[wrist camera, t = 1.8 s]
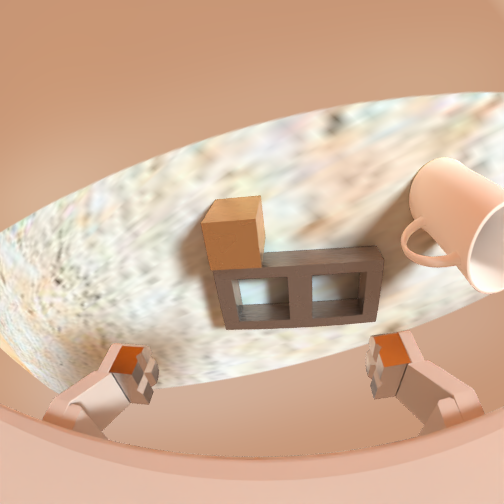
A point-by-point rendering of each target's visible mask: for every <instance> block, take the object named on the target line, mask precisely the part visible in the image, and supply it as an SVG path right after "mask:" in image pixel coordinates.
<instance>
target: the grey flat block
mask: <svg viewBox="0 0 504 504" xmlns="http://www.w3.org/2000/svg"><path fill="white" fill-rule="evenodd" d="M383 266H384V259H383V257H382V255H381V253H380V251H379V249H378V248H377V246H365V247H349V248H333V249H316V250H300V251H283V252H267V253H263V261H262V268H247V269H227V270H213V274H214V278H215V283H216V287H217V292H218V296H219V301H220V305H221V310H222V314H223V318H224V323H225V327H226V330H234V329H274V328H297V327H315V326H330V325H343V324H355V323H366V322H376V317H377V311H378V304H379V298H380V291H381V283H382V275H383ZM353 272H360V278H359V290H358V298H356V299H344V300H330V301H314V302H312V275H324V274H339V273H353ZM272 277H288V292H289V303H277V304H253V305H242V299H241V293H240V287H239V282H238V279H252V278H272Z"/></svg>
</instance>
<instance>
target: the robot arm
mask: <svg viewBox="0 0 504 504" xmlns="http://www.w3.org/2000/svg"><path fill="white" fill-rule="evenodd" d="M369 347H370V350H369V351H368V352H367V354H366V371H367V374H368V377H370V378H371V379H372V382H371V389H372V393H373V397H374V399H380V398H388V397H394V396H396V398H397V399H398V400H399V401H400V402H401V403H402V404H404V406H405V407H406V408H407V409H408V410H409V411H411V412H412V413H413V414H414V415H415V416H416V417H417V418H418V419H419V420H420V421H421V422H422V423H423V424H424V427H423V428H422V430H421V432H420V433H419V435H418V436H417V437H413V438H409V439H405V440H401V441H397V442H392V443H387V444H383V445H377V446H372V447H367V448H360V449H354V450H347V451H340V452H331V453H323V454H311V455H297V456H275V457H238V456H215V455H201V454H189V453H181V452H173V451H165V450H158V449H151V448H146V447H140V446H135V445H130V444H124V443H120V442H115V441H111V440H108V438H107V437H106V436H105V435H104V434H103V433H102V432H101V431H102V430H103V429H104V428H106V427H107V426H108V425H109V424H110V423H111V422H112V421H113V420H114V419H115V418H116V417H117V416H118V415H119V414H120V413H121V412H122V411H123V410H124V409H125V408H126V407H127V406H128V405H129V404H130V403H137V404H147V405H148V404H149V403H150V400H151V397H152V394H153V390H152V386H153V385H155V384H156V383H157V380H158V375H159V369H158V364H157V362H156V360H155V359H153V358H152V357H151V354H152V351H151V349H150V347H149V346H147V345H137V344H122V343H114V344H112V345H111V347H110V348H109V350H108V352H107V354H106V356H105V358H104V359H103V361H102V363H101V365H100V367H99V369H98V371H93V372H92V373H90V374H89V375H87V376H86V377H84V378H83V379H81V380H80V381H78V382H77V383H76V384H74V385H73V386H71V387H70V388H68V389H67V390H65V391H64V392H62V393H61V394H59V395H58V396H56V397H55V398H54V399H53V400H52V402H51V404H50V406H49V408H48V409H47V412H46V413H45V415H44V417H43V419H42V420H40V419H37V418H35V417H32V416H29V415H27V414H24V413H22V412H19V411H17V410H15V409H12V408H10V407H8V406H6V405H3V404H1V403H0V504H504V407H501V408H499V409H497V410H494V411H492V412H490V413H487V414H485V413H484V411H483V408H482V406H481V404H480V402H479V400H478V397H477V395H476V394H475V391H474V389H473V388H471V387H470V386H468V385H466V384H465V383H463V382H462V381H460V380H459V379H457V378H456V377H454V376H453V375H451V374H449V373H448V372H446V371H445V370H443V369H442V368H440V367H439V366H437V365H436V364H434V363H432V362H431V361H429V360H424V357H423V355H422V354H421V351H420V349H419V347H418V345H417V343H416V341H415V339H414V337H413V335H412V333H411V331H410V330H405V331H399V332H393V333H386V334H380V335H373V336H371V337H370V339H369Z"/></svg>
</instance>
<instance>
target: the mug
mask: <svg viewBox="0 0 504 504" xmlns="http://www.w3.org/2000/svg"><path fill="white" fill-rule="evenodd" d="M409 206H410V211H411V214H412V216H413V219H414V221H413V222H412V223H410V224H409V225H408V226H407V227H406V229H405V230H404V232H403V234H402V237H401V247H402V250H403V252H404V254H405V255H406V256H407V257H408V258H409V259H410V260H411V261H413V262H415V263H417V264H420V265H423V266H427V267H449V266H455V265H456V266H457V267H458V269H459V270H460V271H461V272H462V274H463V275H464V276H465V278H466V279H467V280H468V281H469V283H470V284H471V285H472V287H473V288H474V289H476V290H477V291H479V292H481V293H484V294H493V293H497V292H500V291H502V290H504V188H503V187H501V186H499V185H498V184H496V183H494V182H492V181H491V180H489V179H487V178H485V177H483V176H482V175H480V174H478V173H476V172H474V171H472V170H470V169H468V168H467V167H465V166H464V165H463V164H462V163H461V162H459V161H457V160H455V159H453V158H448V157H442V158H437V159H434V160H432V161H430V162H428V163H427V164H426V165H424V166H423V167H422V168H421V169H420V170H419V172H418V173H417V175H416V176H415V178H414V180H413V182H412V185H411V188H410V194H409ZM419 228H422V229H423V230H425V231H426V232H428V233H429V234H430V235H431V237H432V238H433V239H434V240H435V241H436V242H437V243H438V245H439V246H440V247H441V248H442V249H443V250H444V252H445V253H446V254H447V255H444V256H437V257H429V256H422V255H418V254H416V253H414V252H412V251H411V250H409V249H408V247H407V241H408V239H409V237H410V236H411V235H412V234H413V233H414V232H415V231H416V230H418V229H419Z"/></svg>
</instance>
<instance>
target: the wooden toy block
mask: <svg viewBox="0 0 504 504" xmlns="http://www.w3.org/2000/svg"><path fill="white" fill-rule="evenodd" d="M201 227H202V231H203V236H204V241H205V246H206V251H207V256H208V260H209V265H210V269H211V270H227V269H247V268H262V261H263V253H264V245H265V229H264V220H263V211H262V202H261V196H249V197H238V198H227V199H217V200H215V201H214V203H213V204H212V206H211V208H210V209H209V211H208V213H207V214H206V216H205V217H204V219H203V221H202V222H201Z"/></svg>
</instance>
